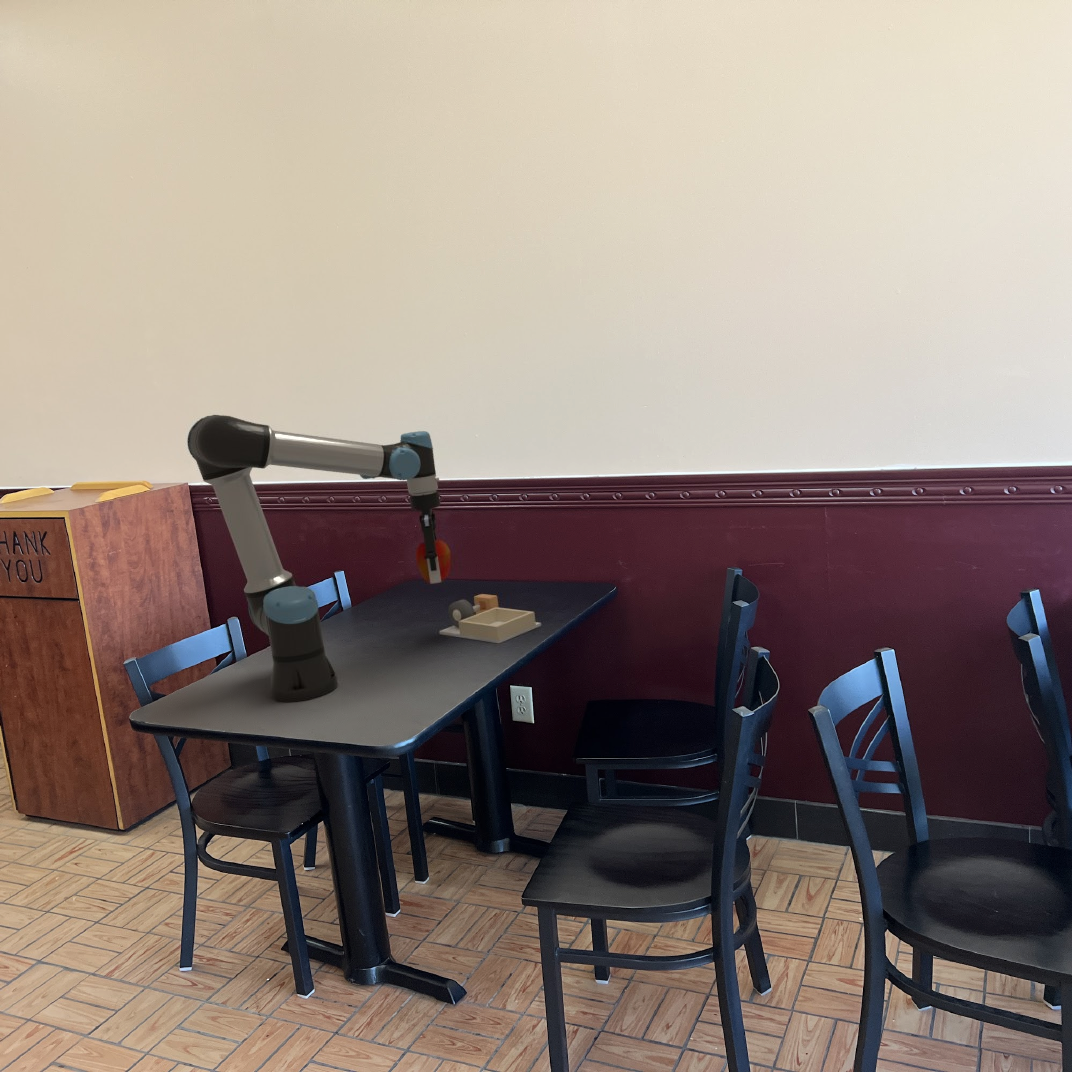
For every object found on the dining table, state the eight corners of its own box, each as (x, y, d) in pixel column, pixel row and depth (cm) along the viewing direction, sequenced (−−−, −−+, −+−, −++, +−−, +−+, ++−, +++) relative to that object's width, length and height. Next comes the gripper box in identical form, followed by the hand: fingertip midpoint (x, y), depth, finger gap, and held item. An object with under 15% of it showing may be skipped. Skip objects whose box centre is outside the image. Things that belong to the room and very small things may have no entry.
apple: (447, 585, 246) (440, 539, 243) (414, 587, 248) (407, 542, 246) (459, 576, 254) (452, 531, 252) (427, 578, 257) (420, 534, 255)
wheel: (467, 629, 255) (464, 603, 254) (449, 626, 260) (446, 601, 259) (489, 621, 261) (486, 595, 260) (471, 618, 266) (468, 593, 265)
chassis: (498, 643, 243) (495, 616, 242) (439, 634, 258) (436, 608, 257) (541, 625, 255) (538, 600, 254) (482, 617, 270) (478, 593, 268)
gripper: (437, 496, 236) (450, 586, 240) (439, 485, 258) (451, 567, 262) (406, 500, 236) (420, 590, 240) (411, 488, 258) (423, 571, 262)
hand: (436, 578), depth 251 cm, fingers closed on apple, 9 cm apart
